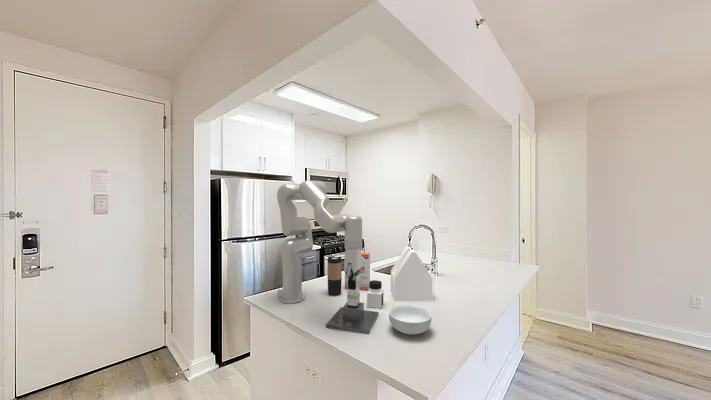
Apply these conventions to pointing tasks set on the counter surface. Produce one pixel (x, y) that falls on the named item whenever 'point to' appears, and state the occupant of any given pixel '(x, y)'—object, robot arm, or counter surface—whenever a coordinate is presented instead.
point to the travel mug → (334, 276)
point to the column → (354, 291)
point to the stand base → (353, 319)
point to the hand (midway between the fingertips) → (353, 287)
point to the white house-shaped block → (410, 278)
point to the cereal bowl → (410, 319)
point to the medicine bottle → (375, 294)
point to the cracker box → (363, 272)
